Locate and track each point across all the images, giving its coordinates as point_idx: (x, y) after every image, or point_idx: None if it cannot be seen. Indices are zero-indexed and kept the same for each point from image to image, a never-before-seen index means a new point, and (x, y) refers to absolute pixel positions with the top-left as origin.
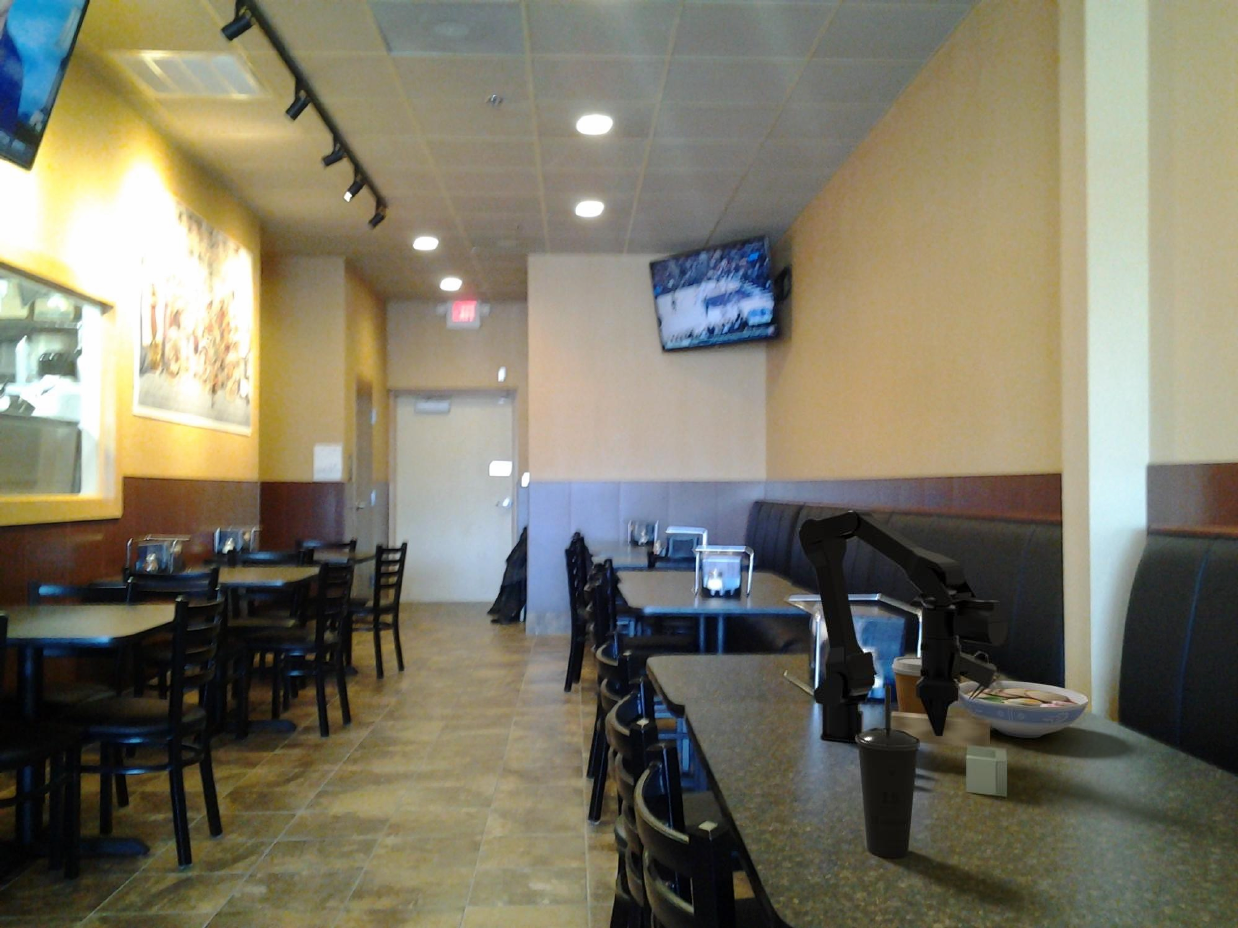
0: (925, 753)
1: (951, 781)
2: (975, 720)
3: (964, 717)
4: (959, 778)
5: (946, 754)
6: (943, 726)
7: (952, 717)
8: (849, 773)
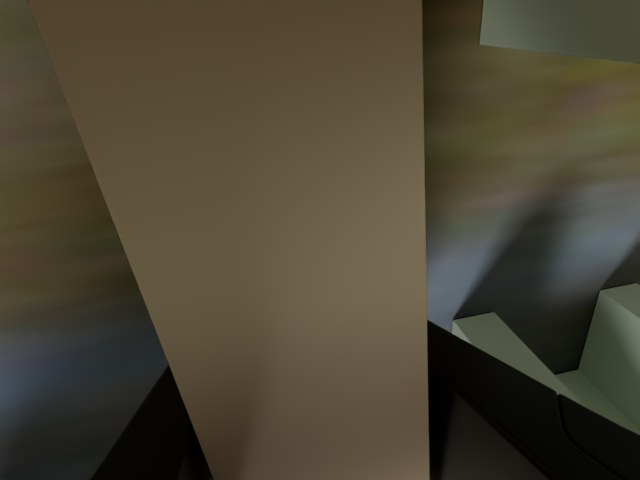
0: (91, 334)
1: (566, 116)
2: (260, 21)
3: (124, 236)
4: (506, 85)
5: (17, 237)
6: (465, 344)
7: (250, 364)
8: None
